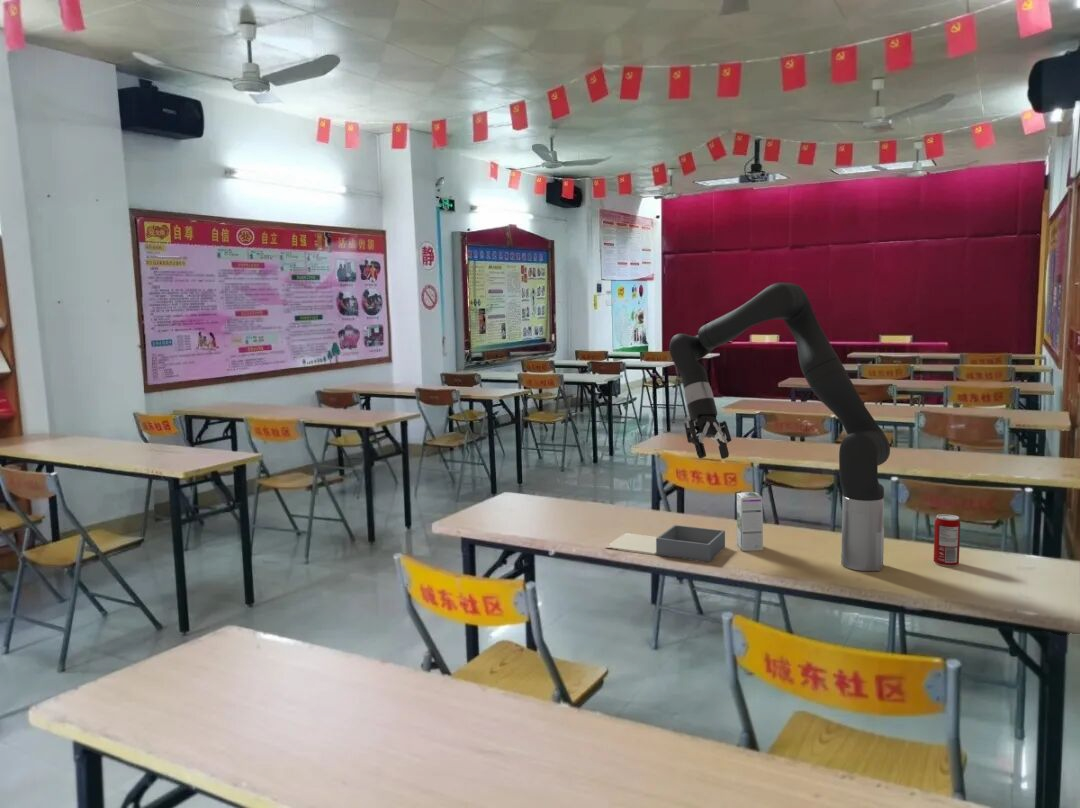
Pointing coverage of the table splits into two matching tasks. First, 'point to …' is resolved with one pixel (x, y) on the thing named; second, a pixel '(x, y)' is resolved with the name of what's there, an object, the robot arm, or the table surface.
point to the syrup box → (749, 521)
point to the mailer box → (675, 543)
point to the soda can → (947, 540)
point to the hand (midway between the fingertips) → (714, 457)
